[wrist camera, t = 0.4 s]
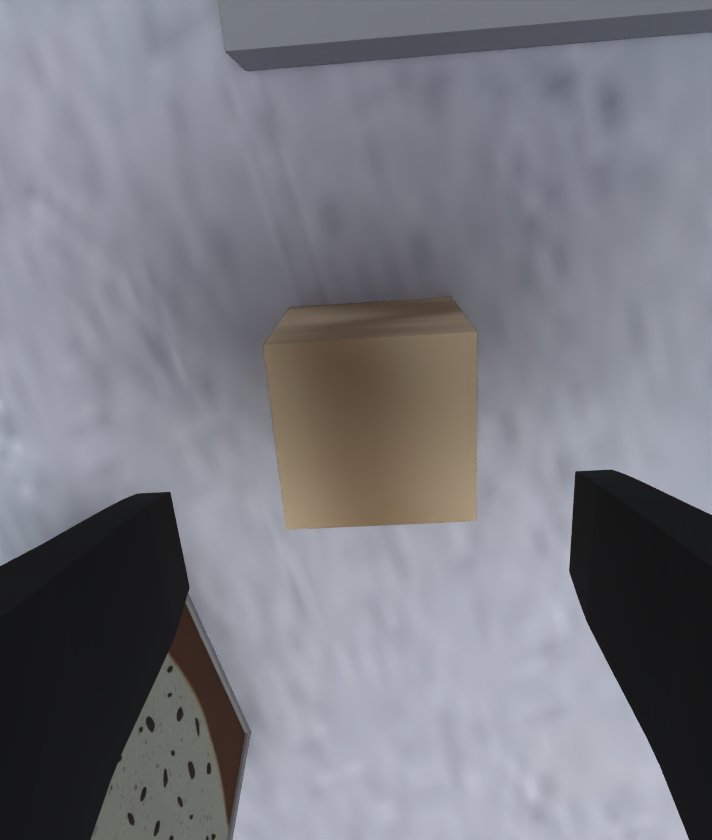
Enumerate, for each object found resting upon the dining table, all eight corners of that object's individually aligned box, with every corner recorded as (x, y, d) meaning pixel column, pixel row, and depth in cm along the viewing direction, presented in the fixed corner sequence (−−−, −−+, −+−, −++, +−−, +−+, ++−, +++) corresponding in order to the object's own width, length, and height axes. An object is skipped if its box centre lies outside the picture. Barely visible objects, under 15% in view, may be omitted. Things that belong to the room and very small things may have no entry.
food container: (-4, 547, 22) (-278, 805, 13) (150, 509, 21) (-22, 754, 12) (129, 782, 26) (-5, 1107, 17) (262, 757, 26) (198, 1082, 16)
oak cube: (450, 296, 19) (476, 331, 14) (453, 445, 20) (476, 521, 16) (290, 306, 19) (262, 344, 14) (305, 453, 21) (286, 529, 16)
